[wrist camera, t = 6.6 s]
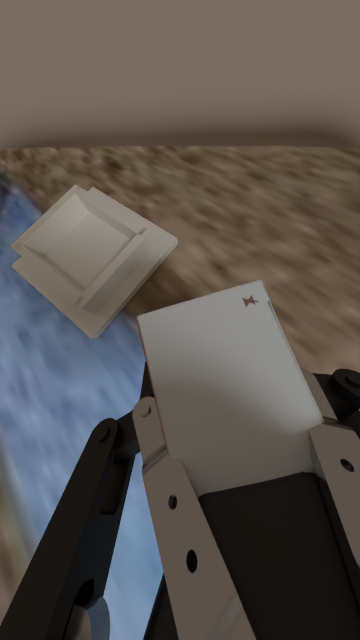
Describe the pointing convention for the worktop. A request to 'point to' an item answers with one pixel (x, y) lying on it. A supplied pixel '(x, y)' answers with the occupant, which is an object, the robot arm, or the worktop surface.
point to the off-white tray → (90, 256)
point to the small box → (228, 389)
